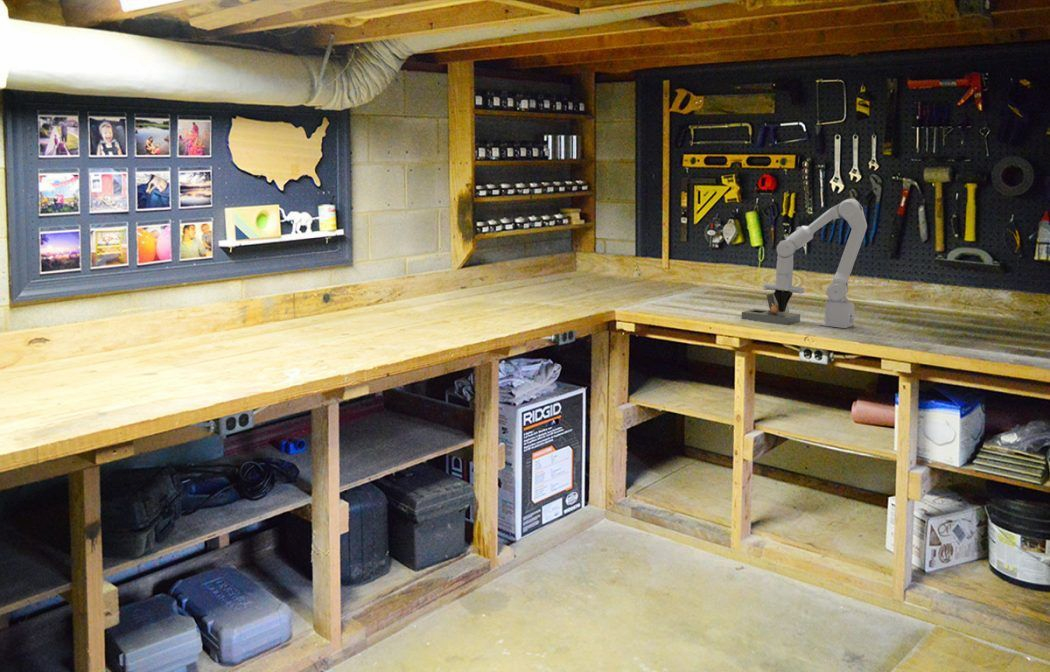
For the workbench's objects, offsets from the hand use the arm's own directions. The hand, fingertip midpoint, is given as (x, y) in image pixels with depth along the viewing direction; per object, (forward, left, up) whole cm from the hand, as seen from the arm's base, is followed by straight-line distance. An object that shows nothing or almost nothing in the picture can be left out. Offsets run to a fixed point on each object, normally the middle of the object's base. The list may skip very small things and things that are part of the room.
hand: (782, 311), depth 341 cm
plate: (+4, 0, -3) cm, 6 cm away
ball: (+3, 0, +1) cm, 3 cm away
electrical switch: (+8, -14, -4) cm, 17 cm away
